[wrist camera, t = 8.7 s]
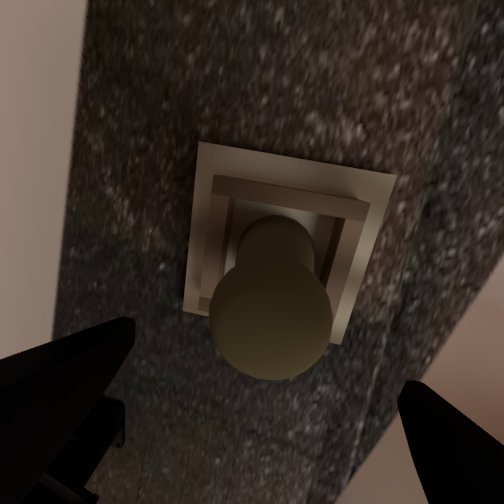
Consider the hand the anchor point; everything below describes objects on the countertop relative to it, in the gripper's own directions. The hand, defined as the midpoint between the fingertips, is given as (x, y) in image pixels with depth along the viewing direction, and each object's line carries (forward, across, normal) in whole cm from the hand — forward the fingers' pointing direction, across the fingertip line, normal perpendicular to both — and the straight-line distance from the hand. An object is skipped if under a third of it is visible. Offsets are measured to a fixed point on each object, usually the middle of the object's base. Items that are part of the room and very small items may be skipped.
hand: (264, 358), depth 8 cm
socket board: (+13, 0, 0) cm, 13 cm away
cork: (+12, 0, 0) cm, 12 cm away
